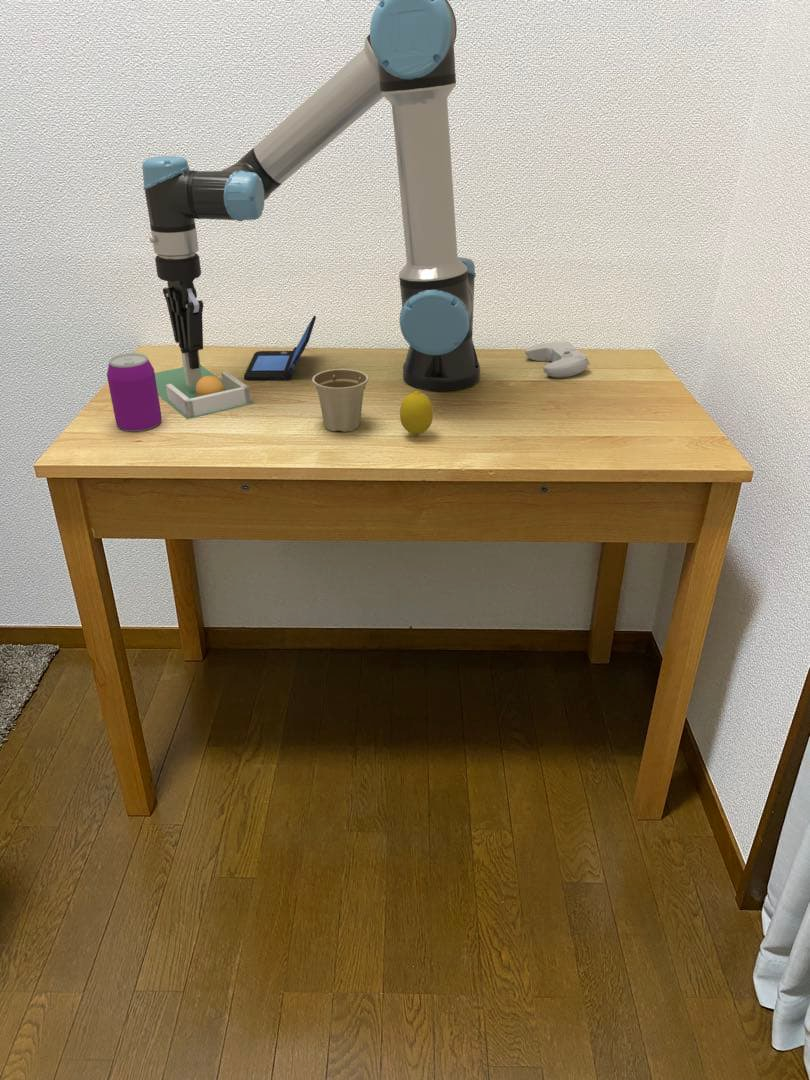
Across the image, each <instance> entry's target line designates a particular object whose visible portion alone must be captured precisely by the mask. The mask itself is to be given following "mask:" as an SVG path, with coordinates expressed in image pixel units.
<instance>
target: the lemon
mask: <svg viewBox="0 0 810 1080" xmlns="http://www.w3.org/2000/svg"><path fill="white" fill-rule="evenodd" d="M399 417H400V418H399V419H400V423H401V426H402V427H403V428H404V429H405V431H406V432H408V433H409V434H412V435H414V437H418V436H419V435H420V434H423V433H425V432H426V431H428V429H429V428H430V427H431V425H432V423H433V420H434V407H433V404H432V402H431V399H430V398H429V397H428V396H427V395H426V394H425V393H422V392H420V391H419V390H414V391H413V392H411V393H409V394H408V395H406V396H405V397H404V398H403V399H402V401H401V404H400V409H399Z"/></svg>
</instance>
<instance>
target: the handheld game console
mask: <svg viewBox="0 0 810 1080" xmlns="http://www.w3.org/2000/svg"><path fill="white" fill-rule="evenodd" d="M316 319H317V317H316V315H313V317H312V318H311V320H310V322H309V324H308V325H307V328H305V331H304V333H303V335H302V337H301V338H300V340H299V342H298V344H297V345H296V346H295V347H293V349H292V350H260V351H255V352H254V354H253V355H252V358H251V360H250V362H249V364H248V366H247V368H246V371H245V372H244V375H243V379H244V381H249V382H251V381H252V382H253V381H254V382H258V381H260V382H262V381H264V382H268V381H271V382H277V381H278V382H283V381H286V382H288V381H291V380H292V376H293V375H292V374H293V372H294V371H295V370H294V369H295V367H296V365H297V363H298V362H299V360H300V358H301V356H302V355H303V353H304V351H305V349H306V347H307V345H308V343H309V342H310V339H311V335H312V333H313V329H314V326H315V322H316Z"/></svg>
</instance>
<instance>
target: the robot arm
mask: <svg viewBox="0 0 810 1080" xmlns="http://www.w3.org/2000/svg"><path fill="white" fill-rule="evenodd" d="M457 28H458V27H457V20H456V15H455V12H454V10H453V8H452V5H451V3H450V2H449V1H448V0H379V2H378V4H376V7H375V9H374V10H373V13H372V17H371V20H370V27H369V34H368V35H367V36H366V37H365V40H364V46H363V49H362V50H361V51H359V52H358V53H357V54H356V55H355V56H353V58H352V59H350V60H349V61H348V62H347V63H346V64H345V65H344V66H343V67H342V68H340V69H339V70H338V71H337V72H336V73H335V74H334V75H333V76H331V77H330V78H329V79H328V80H327V81H326V82H325V83H324V84H323V85H322V86H320V87H319V88H318V89H316V91H315V92H314V93H313V94H312V95H310V96H309V97H308V98H307V99H306V100H305V101H304V102H303V103H301V105H299V106H298V107H297V108H296V109H295V110H294V111H292V113H291V114H289V115H288V116H287V117H285V119H284V120H283V121H281V122H280V124H278V125H277V126H276V127H275V128H274V129H272V130H271V131H270V132H269V133H268V134H267V135H266V136H265V137H264V138H263V139H262V140H260V141H259V142H258V143H257V144H256V145H255V146H254V147H253V148H252V149H250V150H249V151H248V152H246V153H245V154H244V155H243V156H242V157H241V158H240V159H239V160H238V161H236V163H234V164H233V165H230V166H228V167H226V168H224V169H222V170H215V171H214V170H207V171H206V170H205V171H203V170H202V171H199V170H193V169H190V166H189V163H188V160H187V158H185V157H183V156H176V155H161V156H152V157H151V156H150V157H148V158H146V159H145V160H144V161H143V163H142V165H141V166H142V167H141V169H142V176H143V177H142V178H143V191H144V195H145V200H146V208H147V212H148V213H147V214H148V219H149V220H148V221H149V224H150V225H149V226H150V227H149V228H150V233H151V237H149V242H150V243H152V247H153V253H154V254H156V256H155V258H154V261H155V268H156V274H157V277H158V279H159V280H161V281H165V282H166V283H167V287H163V288H162V293H163V296H164V299H165V301H166V306H167V310H168V311H167V312H168V315H169V319H170V323H171V328H172V332H173V333H172V334H173V337H174V341H175V343H177V344H178V347H179V349H180V353H181V358H182V365H183V366H182V367H184V373H185V380H186V384H187V385H188V386H192V385H196V384H197V382H198V381H199V380H200V379H201V378H202V375H201V367H200V365H201V360H200V353H199V352H200V350H203V349H204V333H203V330H204V329H203V310H204V302H203V300H201V299H200V300H197V298H198V295H197V290H196V288H195V284H194V281H195V280H196V279H197V278H199V277H200V276H201V275H202V270H201V267H202V266H201V260H200V255H199V254H198V253H197V252H199V241H198V240H199V239H198V233H197V232H198V231H197V227H196V222H195V220H220V221H221V220H224V221H225V220H226V221H237V222H243V221H256V220H258V219H260V218H261V216H262V215H263V211H264V208H265V201H266V200H267V199H269V197H270V196H271V194H272V193H274V191H276V190H277V189H278V188H279V187H280V186H281V185H282V184H283V183H285V182H286V181H287V180H288V179H289V178H290V177H292V176H293V175H294V174H295V173H296V172H297V171H299V170H300V169H301V168H302V167H303V166H304V165H306V164H307V163H308V162H309V161H310V160H311V159H313V158H314V157H315V156H316V155H317V154H319V153H320V152H321V151H322V150H323V149H325V148H326V147H327V146H328V145H329V144H330V143H331V142H333V141H334V140H335V139H336V138H338V136H340V135H341V134H342V133H343V132H344V131H346V130H347V129H348V128H349V127H350V126H351V125H353V124H354V123H355V122H357V120H358V119H360V118H362V116H364V114H366V112H368V111H369V110H370V109H371V108H373V107H374V106H375V105H376V104H378V103H379V101H381V100H382V99H384V98H385V99H386V100H387V101H388V102H389V103H390V105H391V112H392V120H393V121H392V122H393V133H394V141H395V143H394V144H395V153H396V163H397V173H398V185H399V193H400V194H399V195H400V205H401V206H400V207H401V213H402V214H401V216H402V217H401V218H402V227H403V233H404V234H403V236H404V246H405V257H406V263H405V265H404V266H403V268H402V269H401V270H400V271H399V273H398V278H399V290H400V298H401V310H400V313H399V318H398V319H399V320H398V321H399V327H400V331H401V334H402V336H403V338H404V340H405V342H406V343H407V344H408V345H409V347H408V350H407V354H406V358H405V361H404V363H403V366H402V379H403V381H404V383H406V384H408V385H410V386H411V387H413V388H417V389H422V390H426V391H434V392H436V391H437V392H438V391H439V392H449V391H450V392H451V391H457V390H458V391H459V390H464V389H467V388H469V387H472V386H474V385H476V384H478V383H479V382H480V379H481V366H480V363H479V359H478V356H477V352H476V347H475V345H474V341H473V331H474V329H473V327H474V305H475V304H474V303H475V301H474V299H475V281H476V280H475V279H476V278H477V277H476V275H477V274H476V271H475V270H476V267H475V265H476V264H475V263H474V261H473V260H472V259H471V258H467V257H460V256H458V244H457V230H456V229H457V227H456V226H457V225H456V213H455V200H454V199H455V196H454V185H453V182H454V181H453V167H452V154H451V139H450V138H451V136H450V124H449V109H448V108H449V107H448V99H449V96H450V94H451V93H452V92H453V90H454V89H455V88H456V86H457V79H456V61H455V60H456V59H455V44H456V43H455V42H456V38H457V30H458V29H457Z"/></svg>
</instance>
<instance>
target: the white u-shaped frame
mask: <svg viewBox="0 0 810 1080" xmlns="http://www.w3.org/2000/svg"><path fill="white" fill-rule="evenodd" d="M221 378H222V379H221V380H222V381H223V387H224V389H226V391H222V392H218V393H213V394H209V395H204V396H200V397H195V398H191V399H189V398H188V397H187V396H186V395H184V394H183V393H182V392H181V391H179V390H178V389H177V388H176V387H174V386H173V385H172V384H167V385H166V390H167V397H168V401H170V402H171V403H172V404H173V405H174V406H175V407H177V408H178V409H179V410H180V411H181V412H183V413H184V414H185V415H186V416H187V417H189V418H190V417H194V416H198V415H203V414H207V413H211V412H215V411H219V410H224V409H228V408H232V407H236V406H241V405H245V404H249V403H251V401H252V399H251V390H250V387H249V386H248V385H246V384H245V383H244V382H242V381H241V380H239V379H237V378H236V377H235V376H233V375H232V374H230V373H229V372H228V371H223V372H221Z"/></svg>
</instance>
